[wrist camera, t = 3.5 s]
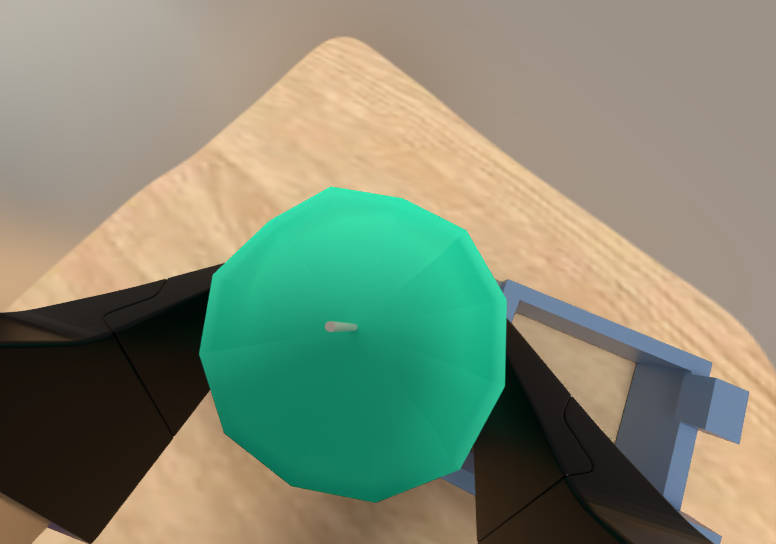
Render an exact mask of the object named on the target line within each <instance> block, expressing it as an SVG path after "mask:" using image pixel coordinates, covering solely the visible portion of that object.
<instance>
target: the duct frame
mask: <svg viewBox="0 0 776 544" xmlns="http://www.w3.org/2000/svg"><path fill="white" fill-rule="evenodd" d="M495 280H496V279H495ZM496 282H497V284H498V285H499V287H500V289H501V291H502V292H503V294H504V296H505V297H506V299H507V310H506V317H507V318H508V320H509V321H510V322H511V323H512V320H513V317H514V314H515V312H516V313H519V314H521V315H523V316H526V317H528V318H531V319H533V320H535V321H538V322H540V323H542V324H545V325H547V326H550V327H552V328H554V329H557V330H559V331H561V332H564V333H566V334H569V335H571V336H573V337H576V338H578V339H580V340H583V341H585V342H588V343H590V344H592V345H595V346H597V347H599V348H602V349H604V350H607V351H609V352H611V353H614V354H616V355H618V356H621V357H623V358H625V359H628V360H630V361H633V362H635V363H637V365H636V368H635V372H634V376H633V380H632V383H631V387H630V391H629V395H628V398H627V402H626V406H625V410H624V413H623V417H622V421H621V425H620V428H619V432H618V436H617V440H616V443H615V445H616V447H617V448H618V449H619V450H620V451H621V452H622V453H623V454H624V455H625V456H626V457H627V458H628V459H629V460H630V461H631V463H632V464H633V465H634V466H635V467H636V468H637V469H638V470H639V471H640V472H641V473H642V474H643V475H644V476H645V477H646V478H647V479H648V480H649V482H650V483H651V484H652V485H653V486H654V487H655V488H656V489H657V490H658V491H659V492H660V493H661V494H662V495H663V496H664V497H665V498H666V500H667V501H668V502H669V503H670V504H671V505H672V506H673V507H674V508H675V509H676V510H677V511H678V512H679V513H680V514H681V515H682V516H683V517H684V518H685V519H686V520H687V521H688V522H689V523H690V524H691V525H692V526H694V527H695V528H696V529H697V530H698V531H699V532H700V533H702V534H703V535H704V536H705V537H707V538H708V539H709V540H710V541H712V542H713V543H714V544H720V542H721V537H722V536H720V535H718V534H717V533H715V532H714V531H712V530H711V529H709V528H708V527H706V526H704V525H703V524H701V523H700V522H698V521H697V520H695V519H694V518H692V517H690V516H689V515H687V514H686V513H683V512H681V511H680V509H681V504H682V499H683V495H684V490H685V486H686V481H687V477H688V472H689V467H690V463H691V458H692V454H693V449H694V445H695V440H696V435H697V431H698V430H699V431H702V432H704V433H707V434H710V435H713V436H716V437H719V438H722V439H724V440H727V441H730V442H733V443H736V444H739V443H740V438H741V433H742V427H743V422H744V417H745V412H746V407H747V401H748V396H749V391H746V390H744V389H741V388H739V387H737V386H734V385H732V384H729V383H727V382H724V381H722V380H720V379H717V378H713V377H709V376H710V371H711V367H712V362H710V361H707V360H705V359H702V358H700V357H697V356H695V355H692V354H690V353H688V352H685V351H683V350H680V349H678V348H675V347H673V346H670V345H668V344H665V343H663V342H661V341H658V340H656V339H653V338H651V337H648V336H646V335H643V334H641V333H639V332H636V331H634V330H631V329H629V328H626V327H624V326H621V325H619V324H616V323H614V322H612V321H609V320H607V319H604V318H602V317H599V316H597V315H594V314H592V313H589V312H587V311H585V310H582V309H580V308H577V307H575V306H572V305H570V304H567V303H565V302H563V301H560V300H558V299H555V298H553V297H550V296H548V295H545V294H543V293H540V292H538V291H536V290H533V289H531V288H528V287H526V286H523V285H521V284H518V283H516V282H514V281H511V280H509V279H508V280H505V281H503V282H500V281H498V280H496ZM440 478H442V479H444V480H446V481H448V482H449V483H451V484H453V485H455V486H457V487H459V488H461V489H463V490H465V491H467V492H469V493H471V494H473V495H475V474H474V453H472V452H469V454H468V456H467V457H466V459H465V461H464V463H463V465H462V467H461V469H460V470H458V471H455V472H453V473H450V474H448V475H445V476H442V477H440Z"/></svg>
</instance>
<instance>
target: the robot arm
mask: <svg viewBox="0 0 776 544" xmlns="http://www.w3.org/2000/svg"><path fill="white" fill-rule="evenodd" d="M223 264H225V263H223ZM223 264H219V265H215V266H212V267H208V268H204V269H200V270H197V271H193V272H189V273H186V274H182V275H178V276H174V277H171V278H168V279H163V280H159V281H156V282H152V283H148V284H144V285H140V286H136V287H132V288H128V289H124V290H119V291H115V292H111V293H106V294H102V295H97V296H93V297H88V298H84V299H79V300H74V301H70V302H65V303H61V304H56V305H51V306H47V307H42V308H37V309H32V310H26V311H18V312H5V313H0V544H32V543H33V542H34V540H35V539H36V538H37V537H38V536H39V535H40V534H41V533H42V532H43V531H44V530H45V529H46V528H47V527H48V528H50V529H53V530H55V531H58V532H60V533H63V534H65V535H68V536H70V537H72V538H75V539H77V540H80V541H82V542H85V543H87V544H92V543H93V541H94V540H95V539H96V538H97V537H98V536H99V534H100V533H101V532H102V531H103V529H104V528H105V527H106V525H107V524H108V523H109V522H110V520H111V519H112V518H113V516H114V515H115V514H116V512H117V511H118V510H119V508H120V507H121V506H122V505H123V503H124V502H125V501H126V499H127V498H128V497H129V495H130V494H131V493H132V492H133V490H134V489H135V488H136V486H137V485H138V484H139V482H140V481H141V480H142V478H143V477H144V476H145V475H146V473H147V472H148V471H149V469H150V468H151V467H152V465H153V464H154V463H155V461H156V460H157V459H158V458H159V456H160V455H161V454H162V452H163V451H164V450H165V448H166V447H167V446H168V445H169V443H170V442H171V441H172V439H173V436H175V435H176V434H177V432H178V431H179V430H180V428H181V427H182V426H183V425H184V423H185V422H186V421H187V419H188V418H189V417H190V415H191V414H192V413H193V412H194V410H195V409H196V408H197V406H198V405H199V404H200V402H201V401H202V400H203V398H204V397H205V396H206V395H207V393H208V392H209V391H210V387H209V384H208V380H207V377H206V374H205V371H204V368H203V365H202V361H201V358H200V355H199V352H200V346H201V340H202V334H203V328H204V323H205V317H206V311H207V305H208V300H209V294H210V288H211V282H212V276H213V274H214V273H215V272H216V271H217V270H218V269H219V268H220V267H221V266H222V265H223ZM473 449H474V474H475V499H476V524H477V542H478V544H714V543H713V542H712V541H710V540H709V539H708V538H707V537H705V536H704V535H703V534H702V533H700V532H699V531H698V530H697V529H696V528H695V527H694V526H692V525H691V524H690V523H689V522H688V521H687V520H686V519H685V518H684V517H683V516H682V515H681V514H680V513H679V512H678V511H677V510H676V509H675V508H674V507H673V506H672V505H671V504H670V503H669V502H668V501H667V500H666V498H665V497H664V496H663V495H662V494H661V493H660V492H659V491H658V490H657V489H656V488H655V487H654V486H653V485H652V484H651V483H650V482H649V480H648V479H647V478H646V477H645V476H644V475H643V474H642V473H641V472H640V471H639V470H638V469H637V468H636V467H635V466H634V465H633V464H632V463H631V461H630V460H629V459H628V458H627V457H626V456H625V455H624V454H623V453H622V452H621V451H620V450H619V449H618V448H617V447H616V445H615V444H614V443H613V442H612V441H611V440H610V439H609V438H608V437H607V436H606V435H605V433H604V432H603V431H602V430H601V429H600V428H599V427H598V426H597V424H596V423H595V422H594V421H593V420H592V419H591V418H590V416H589V415H588V414H587V413H586V412H585V411H584V409H583V408H582V407H581V406H580V405H579V403H578V402H577V401H576V400H575V399H574V397H571V394H570V393H569V392H568V390H567V389H566V388H565V387H564V386H563V384H562V383H561V382H560V381H559V380H558V378H557V377H556V376H555V375H554V374H553V372H552V371H551V370H550V369H549V368H548V366H547V365H546V364H545V363H544V362H543V360H542V359H541V358H540V357H539V356H538V354H537V353H536V352H535V351H534V350H533V348H532V347H531V346H530V345H529V344H528V342H527V341H526V340H525V339H524V338H523V336H522V335H521V334H520V333H519V332H518V330H517V329H516V328H515V327H514V326H513V324H512V323H511V322H510V321H509V320H508V318H507V317H506V357H505V387H504V389H503V391H502V393H501V394H500V396H499V398H498V400H497V402H496V404H495V406H494V407H493V409H492V411H491V413H490V415H489V417H488V419H487V420H486V422H485V424H484V426H483V428H482V430H481V432H480V433H479V435H478V437H477V439H476V441H475V443H474V444H473Z"/></svg>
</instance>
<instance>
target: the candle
mask: <svg viewBox="0 0 776 544" xmlns="http://www.w3.org/2000/svg"><path fill="white" fill-rule="evenodd" d="M506 310H507V299H506V297H505V296H504V294H503V292H502V291H501V289H500V287H499V285H498V284H497V282H496V280H495V279H494V277H493V275H492V273H491V272H490V270H489V268H488V267H487V265H486V263H485V261H484V260H483V258H482V256H481V255H480V253H479V251H478V249H477V248H476V246H475V244H474V243H473V241H472V239H471V237H470V236H469V234H468V232H467V231H466V230H465V229H463V228H461V227H459V226H457V225H455V224H453V223H451V222H449V221H447V220H445V219H443V218H441V217H439V216H437V215H435V214H433V213H431V212H429V211H427V210H425V209H423V208H421V207H419V206H417V205H415V204H413V203H411V202H409V201H407V200H405V199H403V198H397V197H391V196H385V195H379V194H373V193H367V192H361V191H355V190H349V189H343V188H337V187H329V188H327V189H325V190H324V191H322V192H320V193H318V194H316V195H315V196H313V197H311V198H309V199H307V200H306V201H304V202H302V203H300V204H299V205H297V206H295V207H293V208H291V209H290V210H288V211H286V212H284V213H282V214H281V215H279V216H277V217H275V218H273V219H272V220H270V221H269V222H267V223H266V224H265V225H264V226H263V227H262V228H261V229H260V230H259V231H258V232H257V233H256V234H255V235H254V236H253V237H252V238H251V239H250V240H249V241H248V242H247V243H245V244H244V245H243V246H242V247H241V248H240V249H239V250H238V251H237V252H236V253H235V254H234V255H233V256H232V257H231V258H230V259H229V260H228V261H227V262H226V263H225V264H223V265H222V266H221V267H220V268H219V269H218V270H217V271H216V272H215V273H214V274H213V276H212V282H211V288H210V294H209V300H208V305H207V311H206V317H205V323H204V328H203V334H202V340H201V346H200V352H199V355H200V358H201V361H202V365H203V368H204V371H205V374H206V377H207V380H208V384H209V387H210V390H211V393H212V396H213V399H214V403H215V406H216V409H217V412H218V415H219V418H220V422H221V425H222V428H223V431H224V433H225V434H226V435H227V436H228V437H230V438H231V439H232V440H233V441H235V442H236V443H237V444H238V445H240V446H241V447H242V448H244V449H245V450H246V451H247V452H249V453H250V454H251V455H252V456H254V457H255V458H256V459H257V460H259V461H260V462H261V463H263V464H264V465H265V466H266V467H268V468H269V469H270V470H271V471H273V472H274V473H275V474H277V475H278V476H279V477H280V478H282V479H283V480H284V481H285V482H287V483H288V484H289V485H290V486H293V487H298V488H303V489H308V490H314V491H319V492H324V493H329V494H334V495H339V496H344V497H349V498H354V499H359V500H364V501H369V502H374V503H376V502H379V501H382V500H384V499H387V498H389V497H392V496H394V495H397V494H399V493H402V492H404V491H407V490H409V489H412V488H415V487H417V486H420V485H422V484H425V483H427V482H430V481H432V480H435V479H437V478H440V477H442V476H445V475H448V474H450V473H453V472H455V471H458V470H460V469H461V467H462V465H463V463H464V461H465V459H466V457H467V456H468V454H469V452H470V450H471V448H472V446H473V444H474V443H475V441H476V439H477V437H478V435H479V433H480V432H481V430H482V428H483V426H484V424H485V422H486V420H487V419H488V417H489V415H490V413H491V411H492V409H493V407H494V406H495V404H496V402H497V400H498V398H499V396H500V394H501V393H502V391H503V389H504V387H505V357H506Z"/></svg>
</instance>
